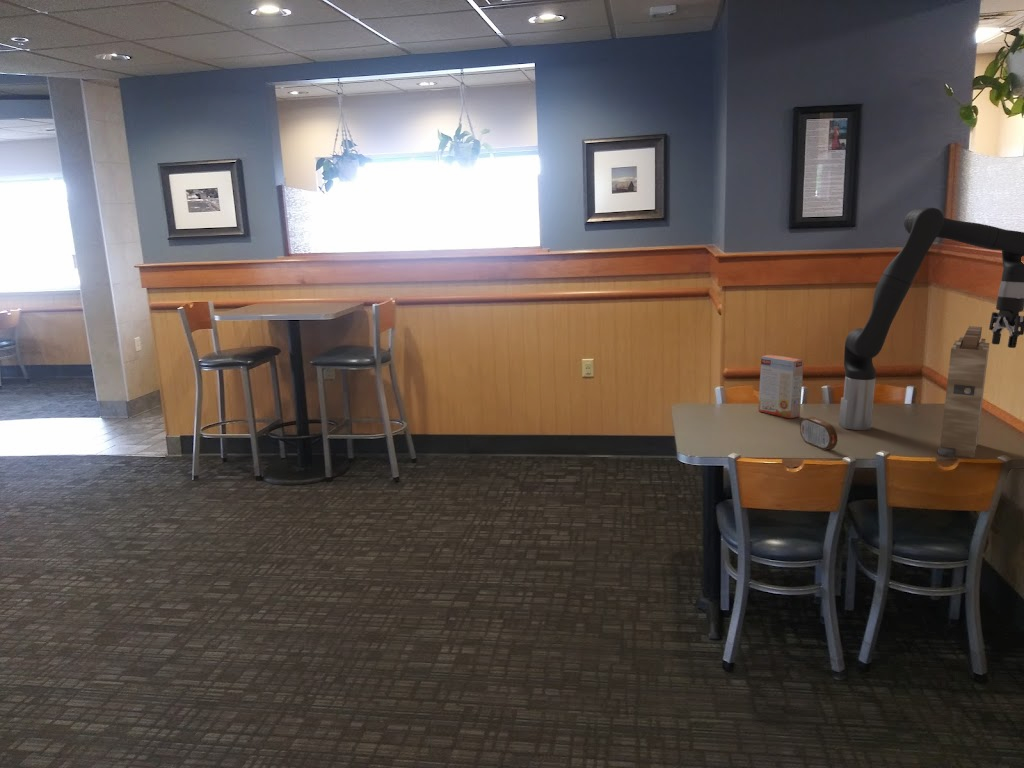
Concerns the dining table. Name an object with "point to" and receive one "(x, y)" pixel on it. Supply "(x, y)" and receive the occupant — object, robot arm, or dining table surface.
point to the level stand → (963, 399)
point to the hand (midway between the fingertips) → (1003, 345)
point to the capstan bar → (972, 337)
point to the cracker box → (780, 386)
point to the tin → (818, 433)
